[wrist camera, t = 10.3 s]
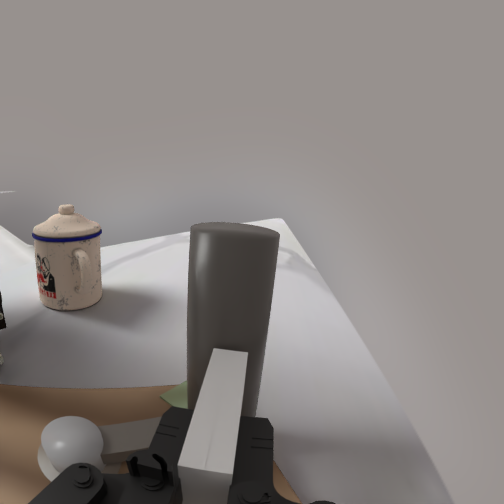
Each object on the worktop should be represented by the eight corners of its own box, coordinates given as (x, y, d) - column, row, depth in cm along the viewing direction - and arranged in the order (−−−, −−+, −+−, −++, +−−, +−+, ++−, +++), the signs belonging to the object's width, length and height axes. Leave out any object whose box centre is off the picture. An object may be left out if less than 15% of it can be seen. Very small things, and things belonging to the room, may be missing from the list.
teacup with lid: (32, 291, 34) (26, 204, 31) (89, 280, 41) (87, 199, 38) (55, 330, 27) (44, 216, 24) (126, 312, 34) (125, 210, 31)
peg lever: (53, 484, 10) (-28, 251, 7) (47, 433, 13) (-1, 228, 10) (265, 439, 16) (297, 239, 14) (233, 402, 20) (251, 222, 17)
